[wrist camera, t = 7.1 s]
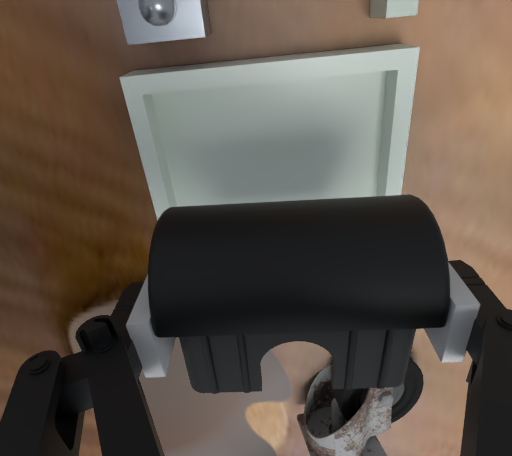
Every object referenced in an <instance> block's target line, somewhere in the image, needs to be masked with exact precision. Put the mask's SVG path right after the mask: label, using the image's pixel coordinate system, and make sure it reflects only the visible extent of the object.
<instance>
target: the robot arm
mask: <svg viewBox="0 0 512 456" xmlns="http://www.w3.org/2000/svg"><path fill="white" fill-rule="evenodd" d="M448 265H449V273H450V304H449V313H448V318H447V323H446V325H445V326H444V327H442V328H424V329H425V331H426V333H427V335H428V337H429V339H430V341H431V343H432V345H433V347H434V349H435V351H436V353H437V355H438V357H439V359H440V361H441V362H462V361H464V357H465V354H466V351H468V353H469V354H470V356H471V358H472V359H473V361H472V364H471V367H470V370H469V373H468V376H467V379H466V382H469V384H468V392H467V401H466V410H465V419H464V428H463V437H462V445H461V454H460V456H512V310H509V309H506V308H505V307H504V305H503V304H502V303H501V302H500V300H499V299H498V298H497V297H496V296H495V294H494V293H493V292H492V291H491V290H490V288H489V287H488V286H487V285H485V282H484V281H483V280H482V279H481V278H479V275H478V274H477V273H476V271H475V270H474V269H473V268H472V267H471V266H469V265H468V264H466V263H464V262H463V261H461V260H455V261H448ZM175 338H176V337H168V338H159V337H156V336H155V334H154V330H153V326H152V322H151V316H150V309H149V299H148V275H147V277H146V279H145V282H135V283H131V284H130V285H129V286H128V287H127V288H126V289H125V290H124V291H123V292H122V294H121V296H120V298H119V302H117V304H116V306H115V309H114V310H113V313H112V315H111V316H108V315H100V316H96V317H93V318H91V319H89V320H87V321H86V322H85V323H83V324H82V325H81V326H80V327H79V328H78V330H77V332H76V340H77V342H78V343H79V346H80V348H81V350H82V351H81V352H78V353H75V354H72V355H69V356H66V357H62V358H61V357H60V355H59V354H58V353H57V352H56V351H52V350H49V351H43V352H40V353H37V354H35V355H34V356H32V357H30V358H29V359H27V360H26V361H25V362H24V363H23V364H22V365H21V367H20V369H19V371H18V373H17V376H16V379H15V382H14V384H13V387H12V390H11V393H10V396H9V399H8V402H7V404H6V407H5V410H4V413H3V416H2V419H1V422H0V456H79V449H80V441H81V434H82V427H83V420H84V413H85V410H88V409H91V408H94V413H95V419H96V424H97V429H98V435H99V440H100V446H101V451H102V456H165V455H164V452H163V449H162V447H161V444H160V440H159V437H158V435H157V431H156V428H155V425H154V422H153V419H152V416H151V413H150V410H149V407H148V404H147V401H146V398H145V395H144V392H143V389H142V386H141V383H140V381H139V376H140V372H141V369H143V372H144V374H145V377H146V378H147V377H165V376H166V372H167V369H168V365H169V361H170V357H171V354H172V350H173V346H174V342H175Z"/></svg>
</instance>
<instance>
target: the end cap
mask: <svg viewBox="0 0 512 456" xmlns="http://www.w3.org/2000/svg"><path fill="white" fill-rule="evenodd" d="M148 299H149V309H150V316H151V322H152V326H153V330H154V334H155V336H156V337H159V338H168V337H179V338H180V342H181V347H182V351H183V355H184V358H185V362H186V367H187V370H188V374H189V379H190V383H191V386H192V388H193V389H194V390H195V391H197V392H200V393H201V392H202V393H213V394H215V393H219V392H245V393H249V392H251V391H262V378H261V366H260V362H261V359H262V357H263V356H264V355H265V353H267V352H268V351H269V350H270V349H272V348H273V347H275V346H277V345H280V344H282V343H286V342H292V341H306V342H311V343H315V344H317V345H320V346H322V347H323V348H325V349H326V350H327V351H329V352H330V354H331V355H332V357H333V359H332V374H331V382H332V387H333V389H346V390H351V389H357V388H379V389H384V388H392V387H398V386H400V385H402V383H403V382H404V379H405V375H406V370H407V366H408V362H409V357H410V353H411V349H412V344H413V340H414V336H415V331H416V329H420V328H442V327H444V326H445V325H446V323H447V318H448V313H449V304H450V273H449V265H448V258H447V253H446V249H445V244H444V240H443V237H442V234H441V231H440V228H439V226H438V223H437V221H436V219H435V217H434V215H433V213H432V212H431V211H430V209H429V208H428V206H427V205H426V204H425V203H424V202H423V201H422V200H421V199H420V198H417V197H415V196H413V195H392V196H372V197H353V198H334V199H315V200H296V201H276V202H257V203H238V204H219V205H200V206H181V207H170V208H168V209H166V210H165V211H164V212H163V213H162V214H161V216H160V217H159V219H158V221H157V224H156V226H155V229H154V233H153V237H152V241H151V247H150V253H149V264H148Z"/></svg>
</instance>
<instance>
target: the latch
mask: <svg viewBox="0 0 512 456" xmlns="http://www.w3.org/2000/svg"><path fill="white" fill-rule="evenodd" d="M117 4H118V8H119V12H120V16H121V20H122V24H123V28H124V33H125V37H126V41H127V45H134V44H143V43H153V42H162V41H172V40H182V39H191V38H201V37H206V36H208V35H210V34H211V27H210V19H209V12H208V5H207V0H117Z"/></svg>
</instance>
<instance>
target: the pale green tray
mask: <svg viewBox="0 0 512 456" xmlns="http://www.w3.org/2000/svg"><path fill="white" fill-rule="evenodd" d="M418 1H419V0H370V16H369V17H373V18H392V17H402V16H411V15H417V9H418ZM419 49H420V47H417V46H412V45H408V44H403V43H401V44H391V45H381V46H371V47H361V48H351V49H342V50H332V51H322V52H312V53H302V54H292V55H282V56H272V57H262V58H253V59H243V60H233V61H223V62H213V63H203V64H193V65H183V66H173V67H164V68H154V69H144V70H134V71H131V72H129V73H127V74H125V75H123V76H121V77H119V78H120V82H121V86H122V89H123V93H124V97H125V101H126V104H127V108H128V112H129V116H130V119H131V123H132V127H133V131H134V134H135V138H136V142H137V146H138V149H139V153H140V157H141V160H142V164H143V168H144V172H145V175H146V179H147V183H148V187H149V190H150V194H151V198H152V202H153V205H154V209H155V213H156V217H157V220H158V219H159V217H160V216H161V214H162V213H163V212H164V211H165V210H166V209H168V208H170V207H181V206H200V205H219V204H238V203H257V202H276V201H296V200H315V199H334V198H353V197H372V196H392V195H401V191H402V183H403V175H404V167H405V160H406V152H407V144H408V136H409V128H410V120H411V112H412V104H413V96H414V88H415V81H416V73H417V65H418V57H419Z"/></svg>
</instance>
